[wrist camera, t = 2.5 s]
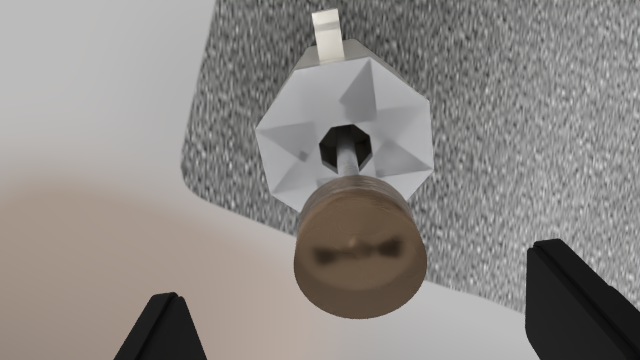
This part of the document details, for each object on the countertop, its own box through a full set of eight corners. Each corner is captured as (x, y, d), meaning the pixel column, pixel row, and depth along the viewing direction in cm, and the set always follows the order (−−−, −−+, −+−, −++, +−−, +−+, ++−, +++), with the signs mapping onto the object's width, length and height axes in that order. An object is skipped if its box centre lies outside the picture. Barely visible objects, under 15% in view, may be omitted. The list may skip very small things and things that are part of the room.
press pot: (266, 19, 31) (230, 29, 20) (385, -3, 31) (421, -7, 19) (296, 159, 36) (280, 234, 24) (400, 142, 35) (437, 212, 23)
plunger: (308, 94, 28) (281, 219, 12) (366, 83, 27) (421, 198, 11) (318, 149, 29) (307, 325, 13) (374, 140, 29) (431, 310, 13)
